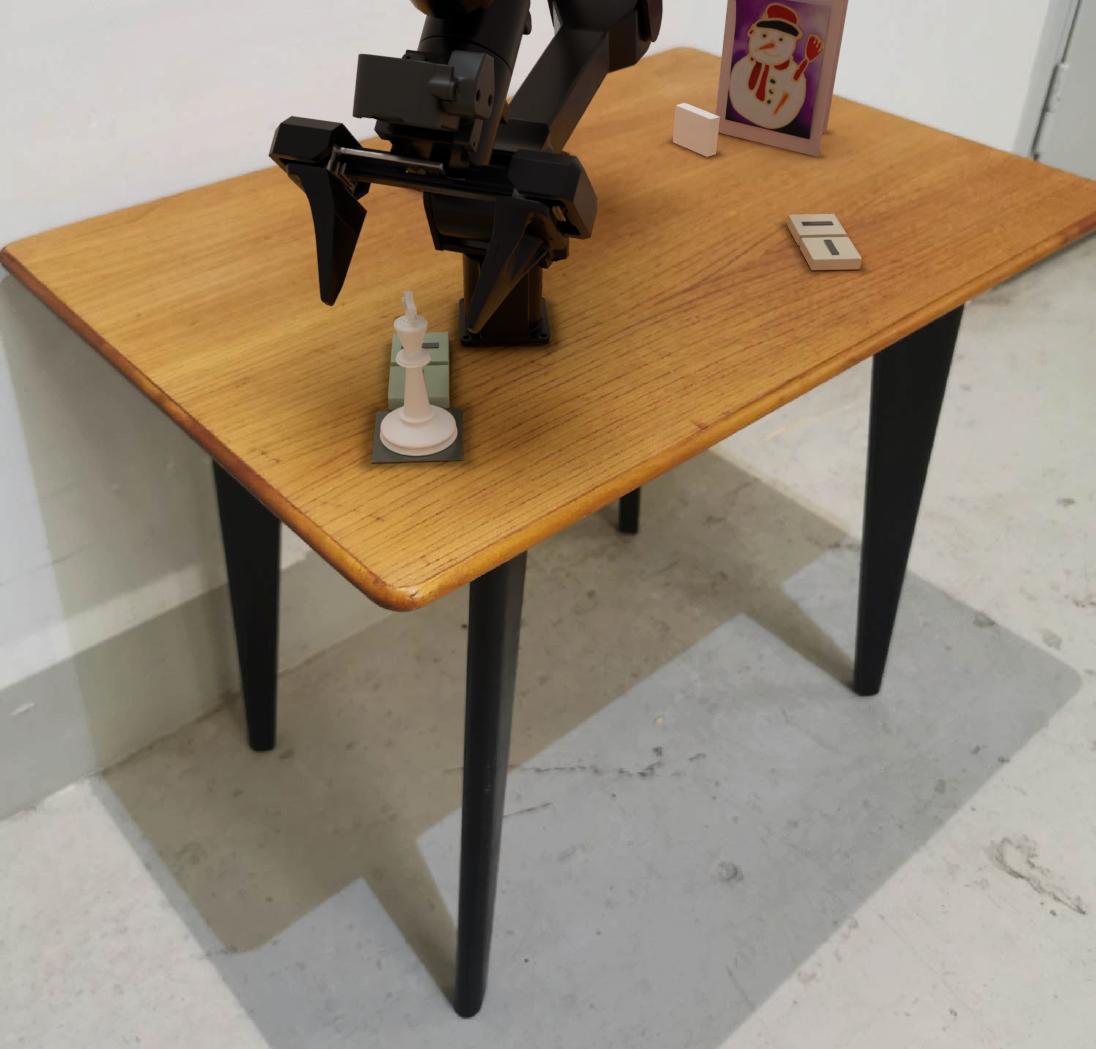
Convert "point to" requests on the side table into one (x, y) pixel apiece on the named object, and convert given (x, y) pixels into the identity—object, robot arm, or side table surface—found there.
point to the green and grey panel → (436, 392)
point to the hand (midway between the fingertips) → (397, 317)
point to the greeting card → (779, 70)
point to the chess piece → (415, 395)
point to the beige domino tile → (823, 242)
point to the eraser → (696, 129)
